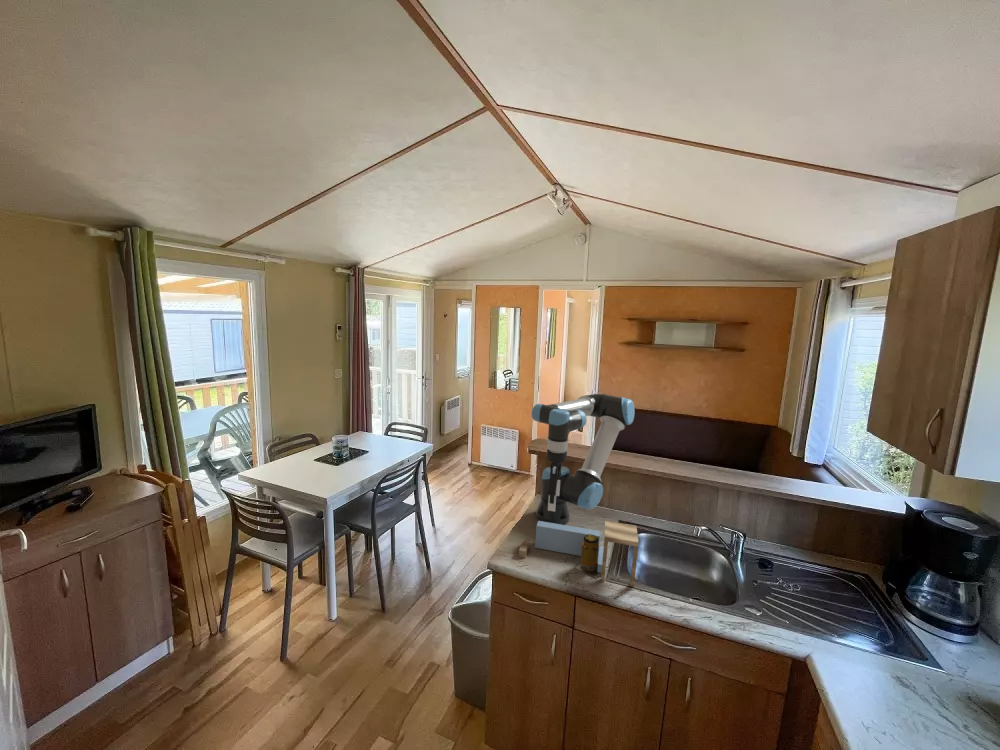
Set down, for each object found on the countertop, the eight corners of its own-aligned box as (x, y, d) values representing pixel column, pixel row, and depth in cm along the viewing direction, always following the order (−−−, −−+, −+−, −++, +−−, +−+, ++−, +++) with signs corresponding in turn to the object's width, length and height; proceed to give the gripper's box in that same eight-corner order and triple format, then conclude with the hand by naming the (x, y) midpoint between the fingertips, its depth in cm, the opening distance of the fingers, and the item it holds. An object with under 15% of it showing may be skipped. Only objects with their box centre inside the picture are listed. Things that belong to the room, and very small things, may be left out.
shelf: (601, 562, 154) (605, 520, 152) (632, 567, 152) (636, 525, 149) (600, 580, 143) (604, 536, 141) (633, 587, 141) (638, 542, 138)
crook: (536, 542, 166) (538, 520, 165) (604, 554, 160) (606, 532, 159) (530, 559, 153) (532, 536, 152) (604, 573, 147) (606, 549, 146)
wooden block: (522, 546, 163) (523, 539, 163) (529, 547, 162) (529, 540, 162) (518, 557, 155) (519, 550, 155) (525, 558, 155) (525, 551, 154)
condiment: (585, 560, 155) (588, 530, 154) (606, 570, 150) (608, 539, 148) (575, 568, 150) (577, 537, 148) (595, 579, 144) (598, 547, 143)
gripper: (551, 439, 170) (548, 488, 173) (542, 459, 146) (539, 516, 149) (569, 441, 168) (566, 490, 171) (563, 462, 144) (559, 519, 147)
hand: (553, 502), depth 160 cm, fingers open, 13 cm apart
